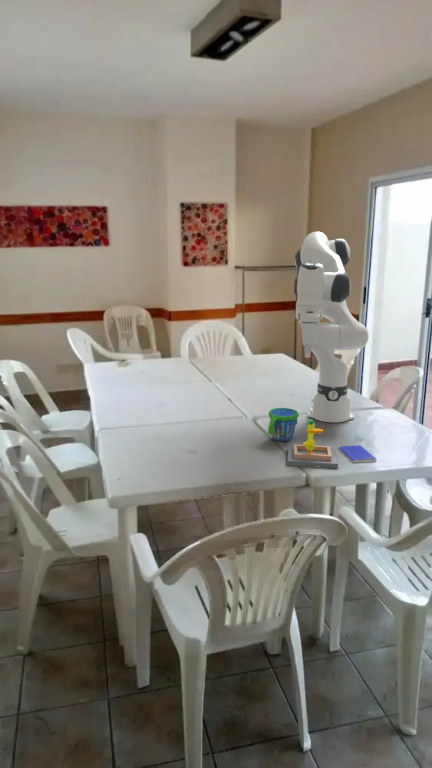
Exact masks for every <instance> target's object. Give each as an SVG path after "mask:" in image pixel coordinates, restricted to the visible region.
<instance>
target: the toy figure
mask: <svg viewBox="0 0 432 768" xmlns="http://www.w3.org/2000/svg"><path fill="white" fill-rule="evenodd" d="M314 421H315V420H314V419H309V420H308V422H307V429H306V430H305V431H306V433H307V440H306V441H305V442H302V445H304V446H305V447H306V449H307V450H308V451H309V452H308V454H314V452H311V451H312V450H313V449H314V445H316V444H315V440H314V436H315V435H317V434H323V432H324V429H322V428H315V422H314Z"/></svg>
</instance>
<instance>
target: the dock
mask: <svg viewBox="0 0 432 768" xmlns="http://www.w3.org/2000/svg"><path fill="white" fill-rule="evenodd" d="M308 452H309V451H308V450H307V449H306V447H305V446H304V444H295V443H294V444H293V445H287V462H286V465H287V466H292V467H293V466H294V467H295V466H296V467H308V466H320V467H319V468H325V467H332V468H331V469H339V462H338V457H337V456H338V455H337V451H336V448H335V447H331V446H330V445H316V444H315V445H314V449H313V450H312V451H311V452H314V454H308Z"/></svg>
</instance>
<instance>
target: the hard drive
mask: <svg viewBox="0 0 432 768" xmlns="http://www.w3.org/2000/svg"><path fill="white" fill-rule="evenodd" d="M338 450H339V451H340V452H341V453H342V454H343V455H344V456H345V457H346V458H347V459H348V460H350V462H352V463H353V464H354V463H369V462H370V463H371V462H373V463H374V462H377V458H376V457H375V456H374V455H372V454H371V453H370V452H369V451H368V450H366V449H365V448H364V447H363V446H362V445H343V446H339V447H338Z"/></svg>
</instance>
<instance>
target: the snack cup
mask: <svg viewBox="0 0 432 768" xmlns="http://www.w3.org/2000/svg"><path fill="white" fill-rule="evenodd" d="M268 416H269V424H268V428H267V431H268V432H267V433H268V435H269V436H270V435H271V436H272V439H274V440H276V441H279V442H289V441H292V440H293V439H294V435H295V430H296V425H297V424H298V418H299V412H298V411H297V410H296V409H292V408H288V407H276V408H271V409H270V410H269V411H268Z"/></svg>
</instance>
